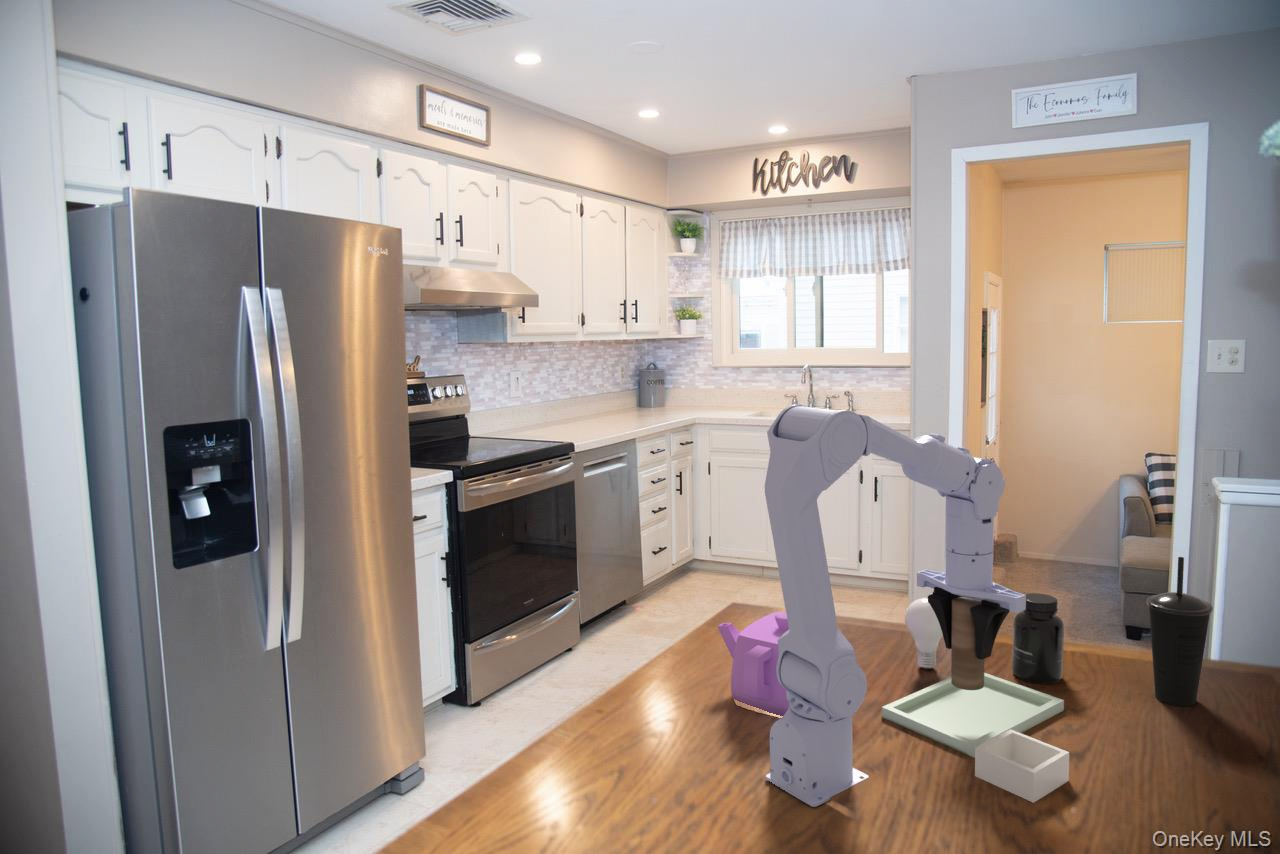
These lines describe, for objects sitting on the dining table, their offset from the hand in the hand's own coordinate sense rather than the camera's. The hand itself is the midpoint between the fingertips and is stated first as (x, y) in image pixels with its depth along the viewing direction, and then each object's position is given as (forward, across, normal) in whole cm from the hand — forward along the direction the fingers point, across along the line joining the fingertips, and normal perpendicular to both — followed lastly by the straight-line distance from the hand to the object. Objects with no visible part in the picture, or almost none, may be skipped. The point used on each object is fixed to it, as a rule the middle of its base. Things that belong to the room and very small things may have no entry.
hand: (968, 651), depth 112 cm
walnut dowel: (+4, 0, 0) cm, 4 cm away
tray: (+10, +1, -3) cm, 11 cm away
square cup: (+10, -12, +7) cm, 17 cm away
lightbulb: (+11, +15, -12) cm, 22 cm away
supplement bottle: (+11, +3, -22) cm, 25 cm away
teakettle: (+11, +22, +11) cm, 27 cm away
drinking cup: (+11, -13, -29) cm, 34 cm away
